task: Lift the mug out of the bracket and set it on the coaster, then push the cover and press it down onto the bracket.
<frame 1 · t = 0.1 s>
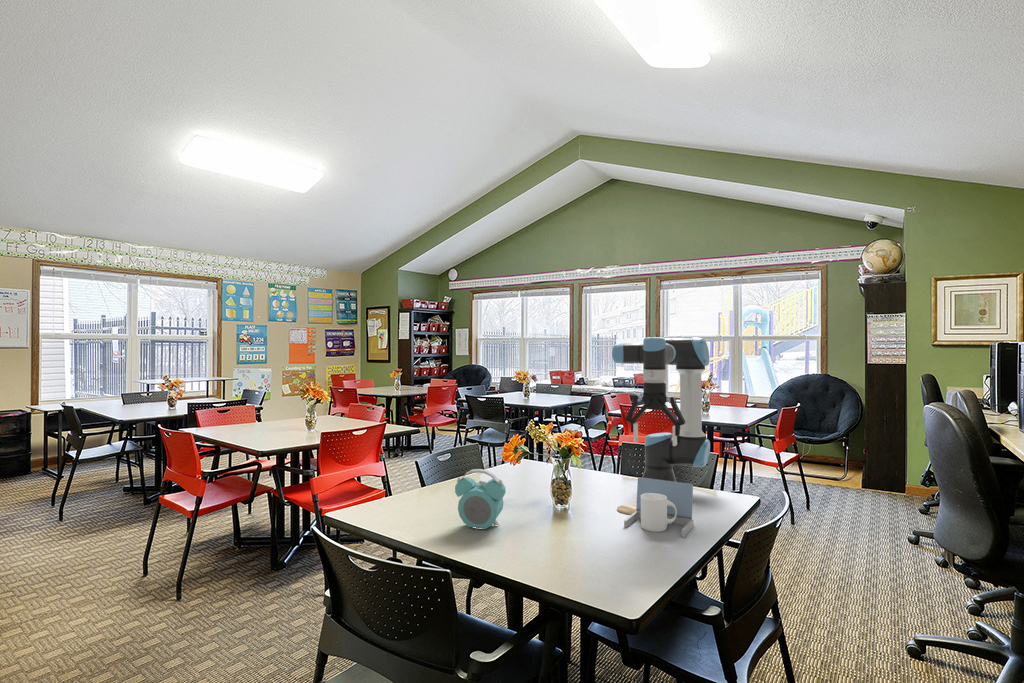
hand: (654, 443, 188), 28 cm above the table, fingers open, 13 cm apart
coaster: (631, 510, 204), on the table
bracket: (663, 521, 191), on the table
mug: (659, 528, 184), on the table
alarm clock: (480, 527, 187), on the table
cover: (664, 497, 192), point 8 cm above the table, hinge at 100.0°
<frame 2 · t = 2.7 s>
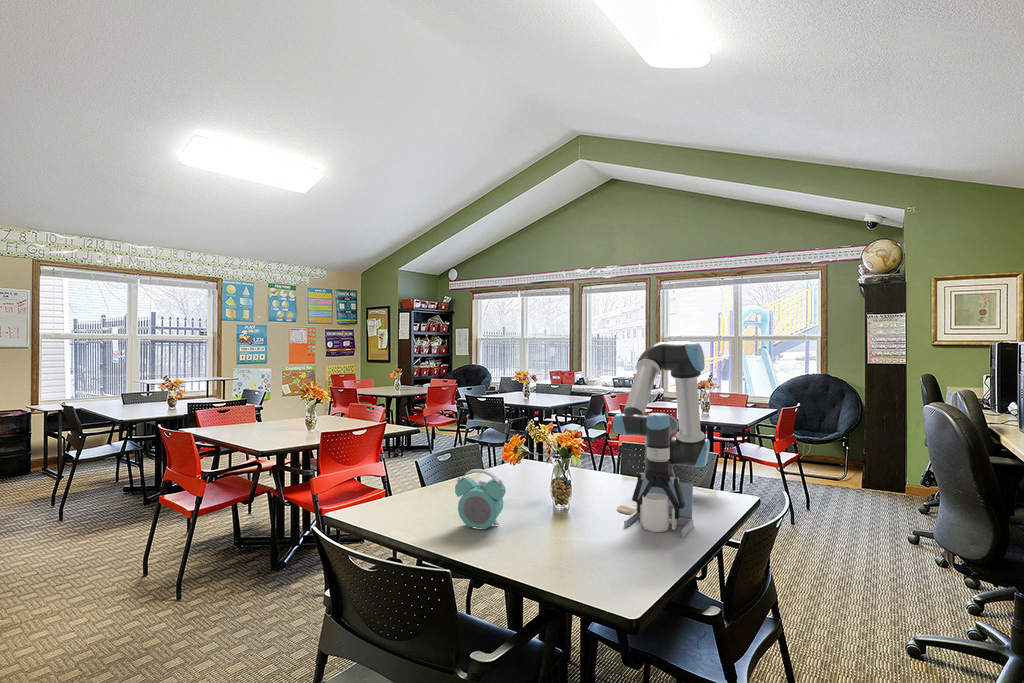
hand: (658, 525, 184), 1 cm above the table, fingers closed on mug, 10 cm apart
mug: (660, 529, 184), on the table, touching gripper
everything else where it was.
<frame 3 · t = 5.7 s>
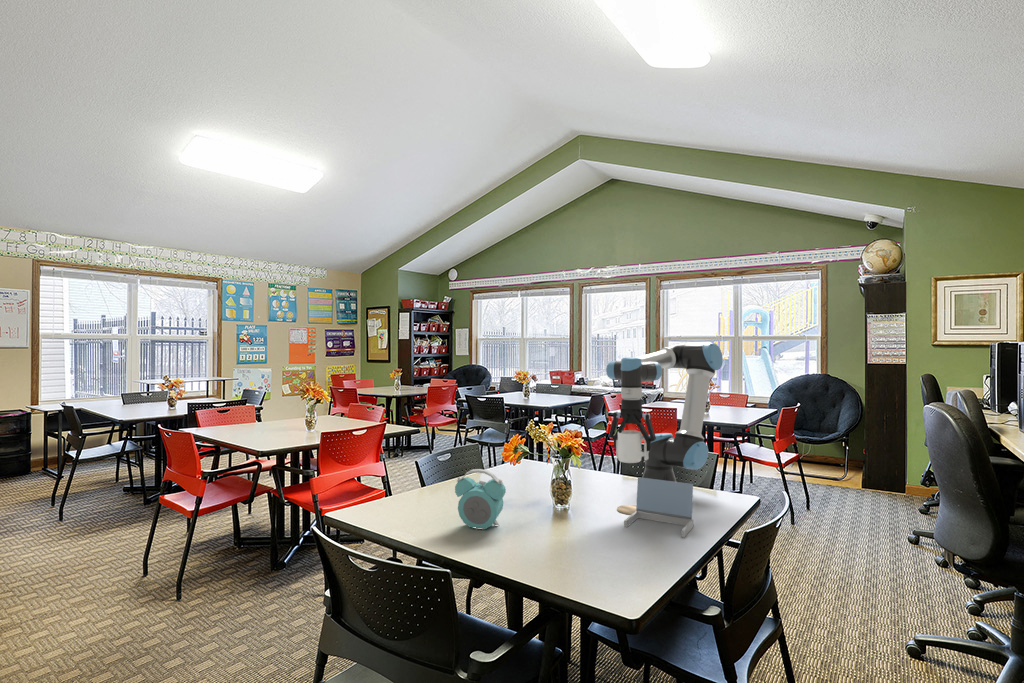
hand: (632, 458, 204), 19 cm above the table, fingers closed on mug, 10 cm apart
mug: (634, 461, 204), point 18 cm above the table, touching gripper
everything else where it was.
when the fingers open (2 cm above the table, at t = 8.9 s): mug drops 1 cm, resting on coaster.
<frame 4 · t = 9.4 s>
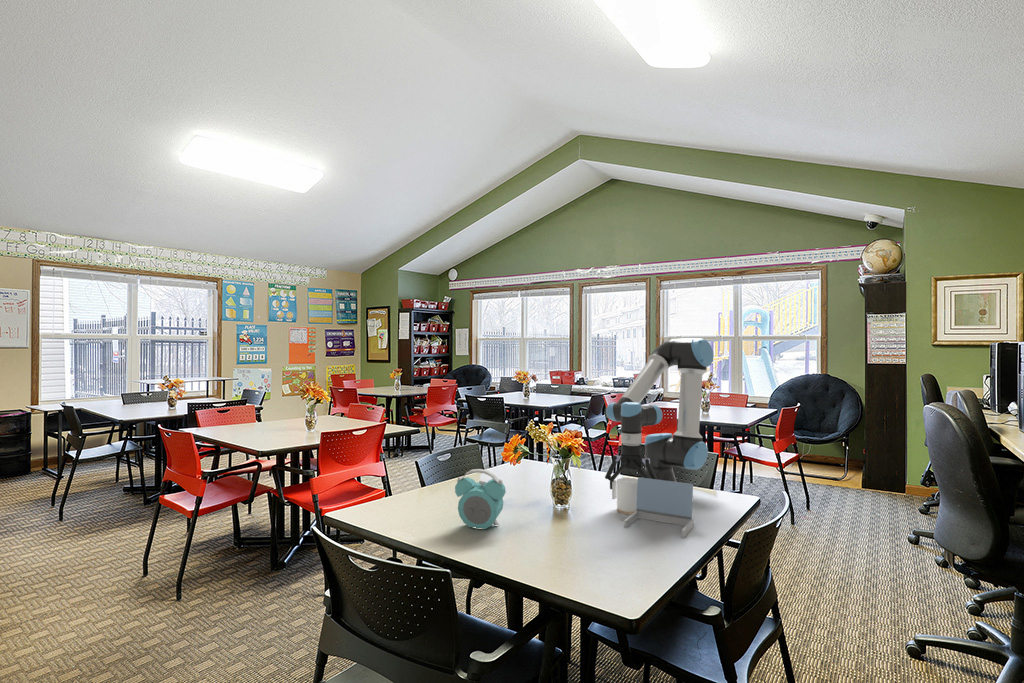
hand: (631, 500, 204), 4 cm above the table, fingers open, 13 cm apart
mug: (633, 509, 204), resting on coaster
everything else where it was.
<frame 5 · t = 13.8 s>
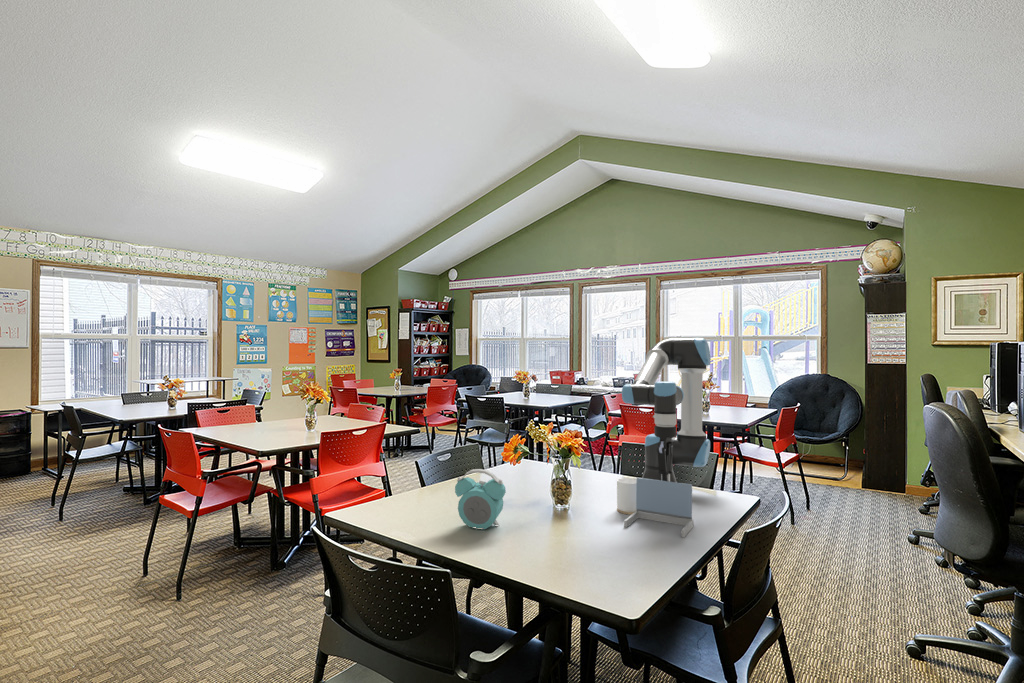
hand: (665, 492, 193), 10 cm above the table, fingers closed
cover: (663, 498, 191), point 8 cm above the table, hinge at 92.1°, touching gripper
everything else where it was.
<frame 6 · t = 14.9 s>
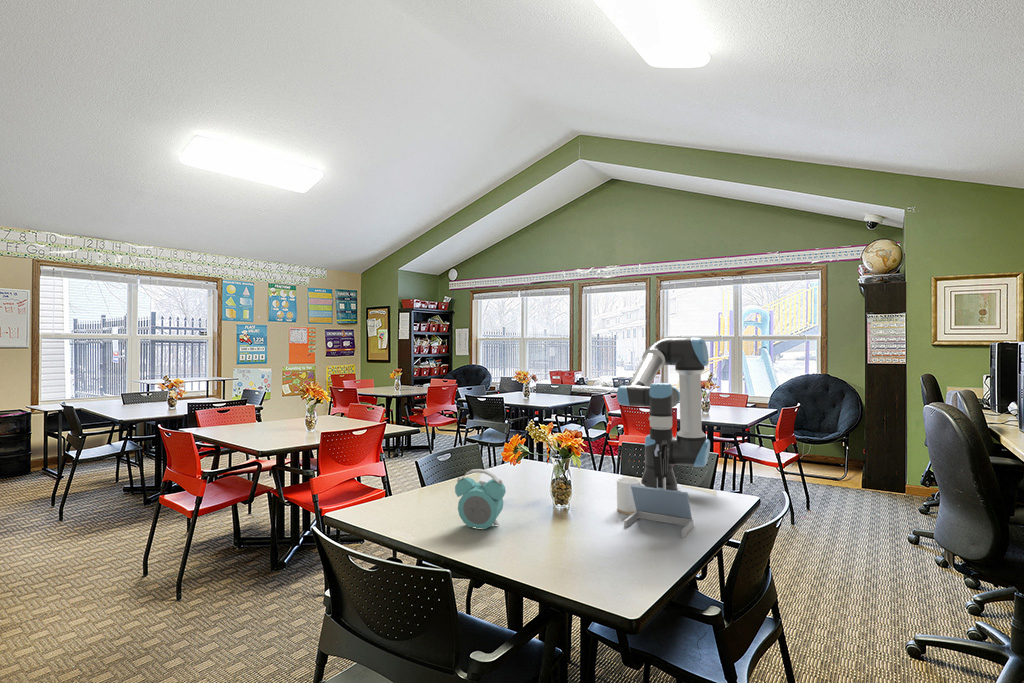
hand: (661, 496, 189), 10 cm above the table, fingers closed
cover: (661, 501, 188), point 8 cm above the table, hinge at 60.1°
everything else where it was.
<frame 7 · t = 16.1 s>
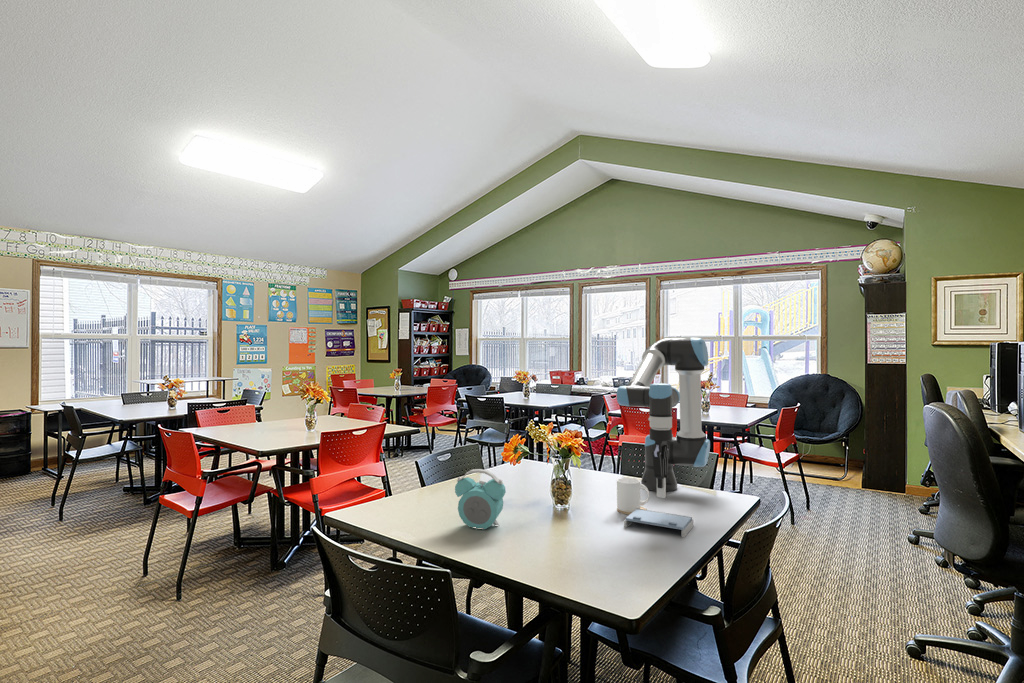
hand: (661, 496, 188), 9 cm above the table, fingers closed
cover: (658, 517, 186), point 3 cm above the table, hinge at -1.0°, touching bracket
everything else where it was.
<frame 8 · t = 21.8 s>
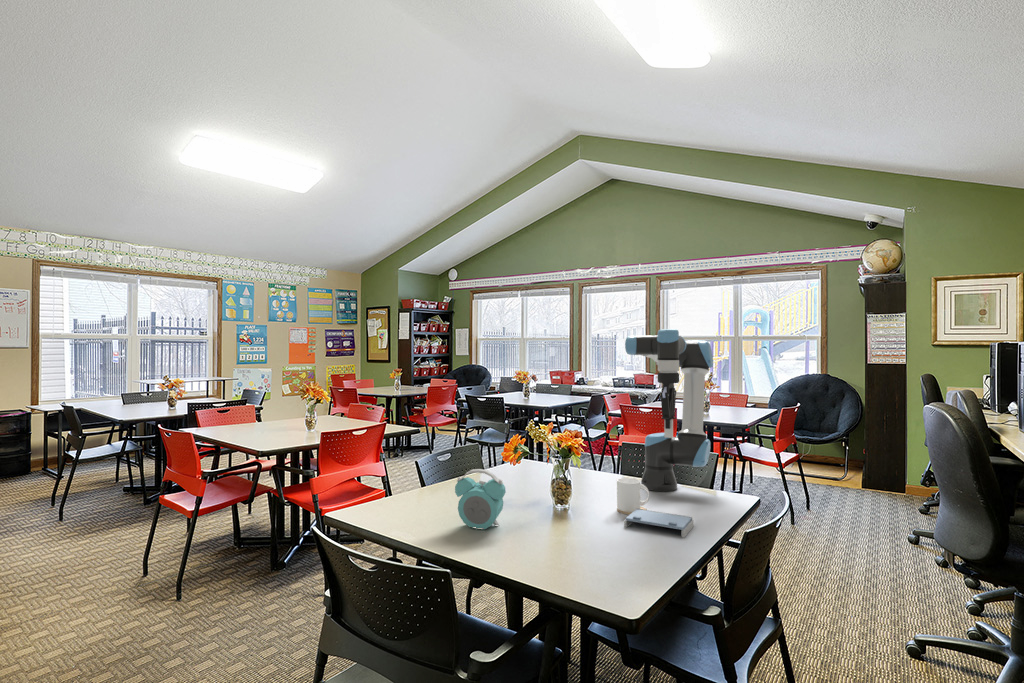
hand: (668, 437, 197), 28 cm above the table, fingers closed
nothing on the table moved.
at the end: cover at -1° (first picture: +100°); mug 0.5 cm from the coaster (horizontally); mug tilted 0° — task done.
